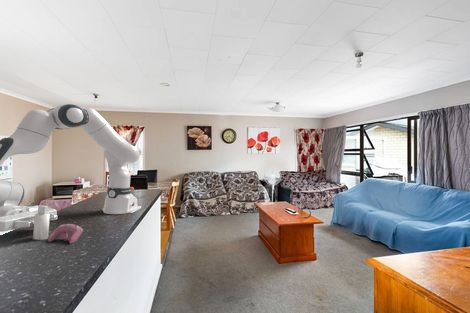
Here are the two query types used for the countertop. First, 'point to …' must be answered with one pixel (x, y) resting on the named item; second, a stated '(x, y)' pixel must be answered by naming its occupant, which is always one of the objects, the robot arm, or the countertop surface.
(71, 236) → the video game controller
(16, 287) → the countertop surface
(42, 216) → the white bottle
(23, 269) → the countertop surface
